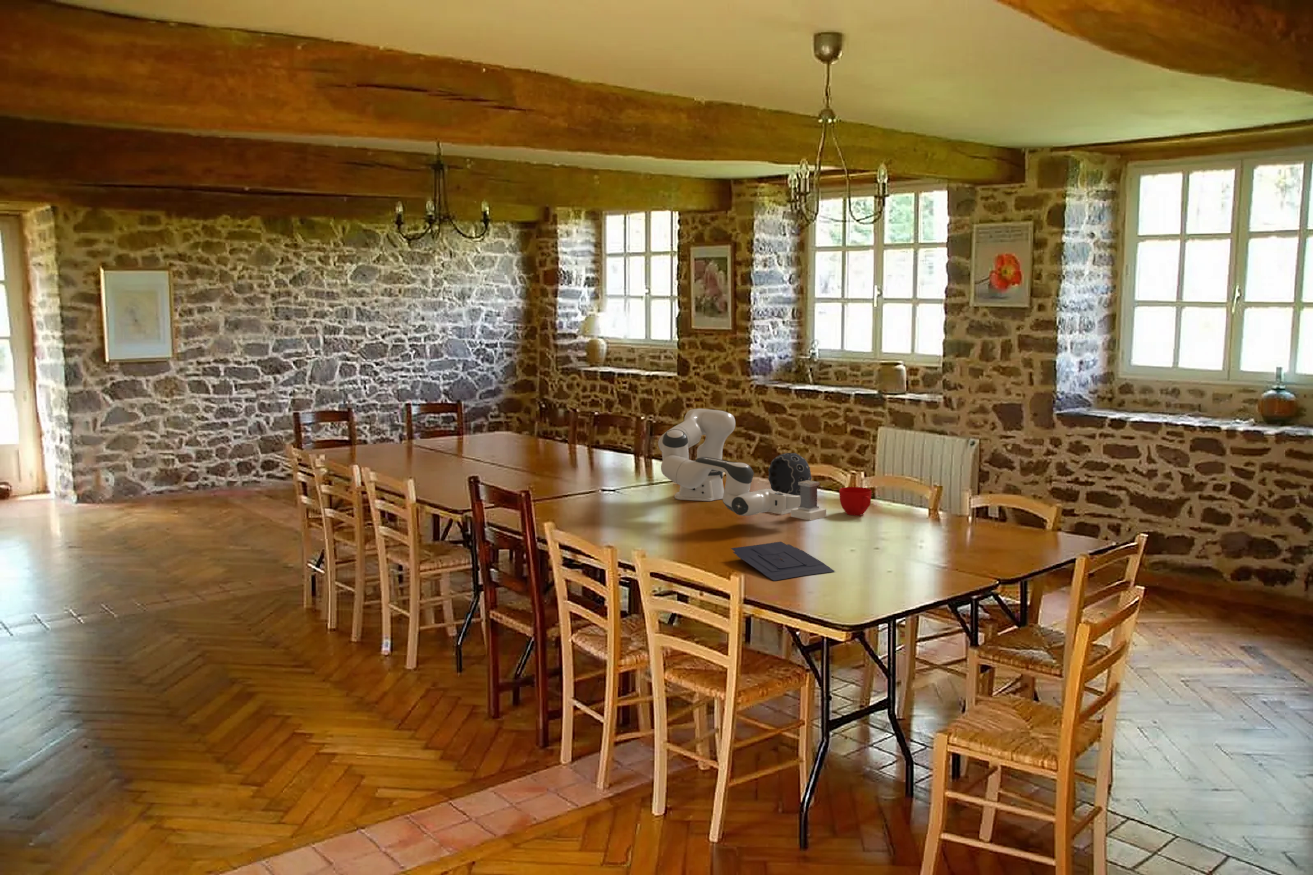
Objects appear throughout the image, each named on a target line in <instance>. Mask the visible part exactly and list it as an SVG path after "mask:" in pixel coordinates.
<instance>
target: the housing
mask: <svg viewBox="0 0 1313 875" xmlns="http://www.w3.org/2000/svg"><path fill="white" fill-rule="evenodd" d="M798 485H800V497H801V504H800V506H798V509H799V510H804V511H809V512H810V511H814V510H819V508H820V506H818V486H820V481H814V480H811V481H810V480H806V481H801V482H798Z"/></svg>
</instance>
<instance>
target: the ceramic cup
mask: <svg viewBox="0 0 1313 875" xmlns="http://www.w3.org/2000/svg"><path fill="white" fill-rule="evenodd" d="M838 492H839V502H840V505H841V506H840V507H842V509H843V511H844V513H846V515H848V516H855V517H856V516H862V515H864V513H865V512H867V511H868V509H869V507H870V506H871V502H872V501H871V500H872V489H871V488H867V487H861V486H847V487H841V488H839V490H838Z"/></svg>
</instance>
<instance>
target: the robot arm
mask: <svg viewBox="0 0 1313 875" xmlns="http://www.w3.org/2000/svg"><path fill="white" fill-rule="evenodd" d="M683 419H684V420H683V421H682V422H680V423H678V424H677V425H674V426H673V427H671V428H670V429H668V430H667V431H665V432H664V433H663V434H662V435H661V436H659V438H658V442H657V443H658V444H657V446H658V448H659V451H661V456H662V457H661V458H662V462H661V465H660V472H661V473H662V475H663V476H664V477H665V478H667V479H668V480H670V481H671V482H673V483H674V484H676V485H678V486H679V491H678V492H675V494H674V499H676V500H681V501H701V502H702V501H703V502H712V501H716V500H722V502H723V504H724V505H725V506H726V508H727V509H728V510H729V511H731V512H733V513H735V514H736V515H737V516H741V517H742V516H743V517H744V516H747V517H748V516H755V515H758V514H760V513H761V514H763V513H767V512H768V513H772V512H771V511H785V510H786V509H790V508H794V507H797V506H800V504H801V497H800V495H791V494H786V493H782V492H779V491H778V492H776V491H773V490H772V489H771V488H762V489H756V490H754V491H750V490H751V485H752V482H753V478H754V475H755V472H754V470H753V469H752V467H751V465H749V464H748V463H745V462H737V461H736V462H735V461H730V460H725V459H723V450H724V446H725V445H724V444H725V442H726V440H727V439H728V437H729V436H730V435H731V434H732V433H733V432H734V430H735V428H736V419H735V416H734V415H733V414H732V413H730V412H727V411H725V410H718V409H708V408H693V409H690V410H688V411H687V412H686V414H685V415H684V418H683ZM704 435H705V439H704V442H703V443H702V444H700V445H699V446H697V450H696V452H697V453H696V459H695V460H692V459H690V453H689V448H691V447H693V446H695V445H698V444H699V443H700V441H701V438H702V436H704ZM724 473H725V475H726V478H725V486H724V482H723V480H724V479H723V478H724Z"/></svg>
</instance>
